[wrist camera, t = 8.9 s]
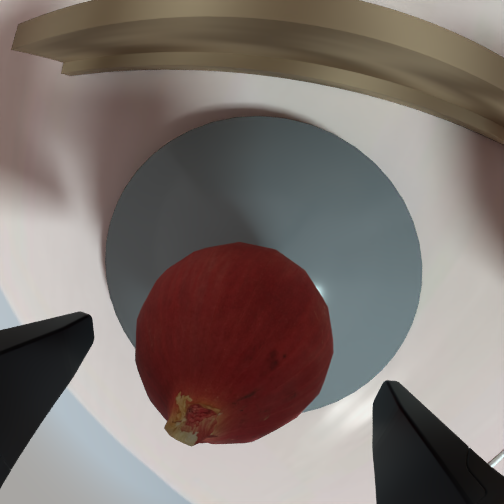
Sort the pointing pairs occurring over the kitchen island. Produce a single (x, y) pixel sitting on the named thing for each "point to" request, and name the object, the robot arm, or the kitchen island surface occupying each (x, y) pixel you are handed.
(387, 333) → the slate plate
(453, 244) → the kitchen island surface
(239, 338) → the onion
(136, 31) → the walnut screen
